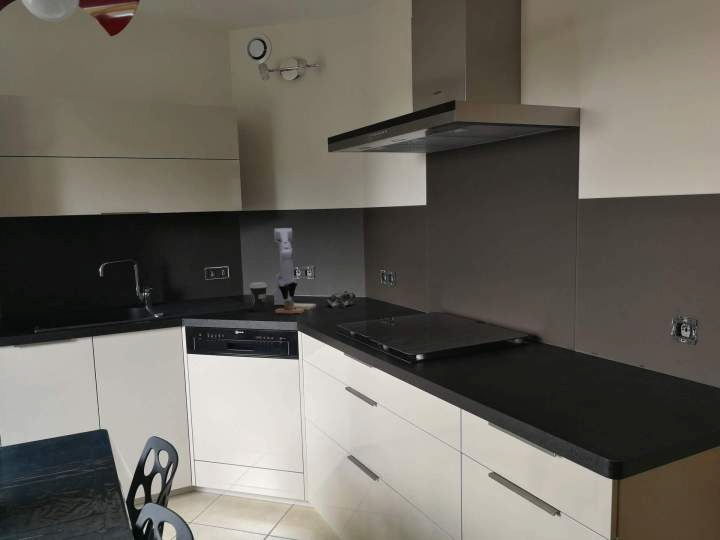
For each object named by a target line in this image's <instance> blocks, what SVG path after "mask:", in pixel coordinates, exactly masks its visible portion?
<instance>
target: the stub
mask: <svg viewBox="0 0 720 540" xmlns="http://www.w3.org/2000/svg"><path fill="white" fill-rule="evenodd" d="M294 302H295V301H294V300H292V301H284V305H283V306H284V307H283V308H277V309H275V310H274V312H275V314H294V313H300V314H302V312H303V313H304V312H305V309H294Z"/></svg>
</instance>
